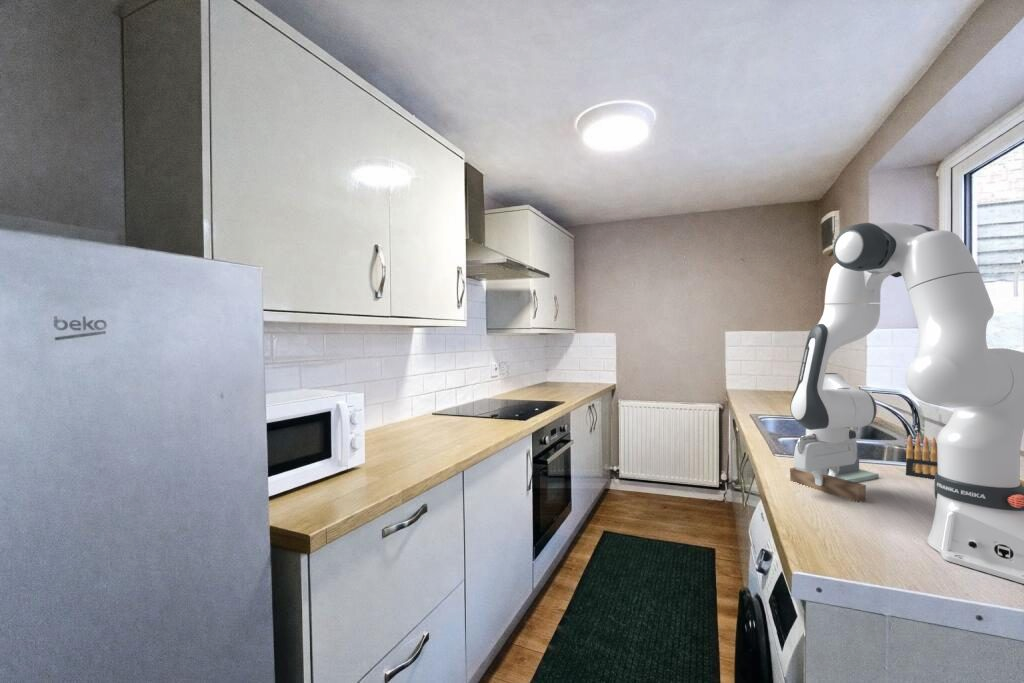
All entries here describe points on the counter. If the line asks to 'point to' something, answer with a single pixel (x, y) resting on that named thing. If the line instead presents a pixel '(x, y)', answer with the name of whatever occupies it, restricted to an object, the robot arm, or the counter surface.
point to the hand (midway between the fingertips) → (825, 483)
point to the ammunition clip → (921, 458)
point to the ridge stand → (853, 473)
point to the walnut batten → (831, 485)
